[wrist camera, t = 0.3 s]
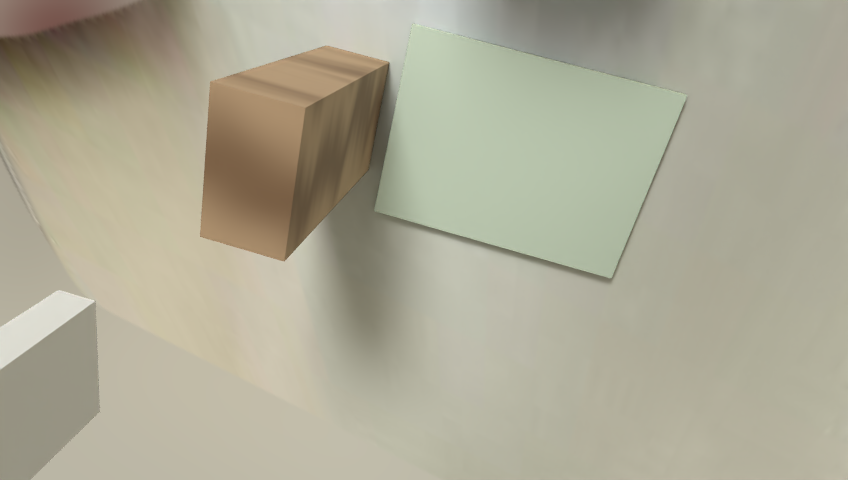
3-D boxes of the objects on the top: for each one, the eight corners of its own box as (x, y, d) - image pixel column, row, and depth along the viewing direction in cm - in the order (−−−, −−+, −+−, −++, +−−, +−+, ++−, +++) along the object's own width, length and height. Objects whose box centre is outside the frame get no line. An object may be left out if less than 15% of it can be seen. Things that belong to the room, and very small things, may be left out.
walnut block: (326, 45, 36) (210, 81, 24) (389, 62, 36) (305, 107, 23) (310, 153, 39) (200, 236, 27) (368, 169, 39) (284, 261, 26)
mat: (413, 23, 35) (412, 24, 34) (685, 94, 34) (687, 95, 33) (375, 208, 40) (373, 211, 40) (610, 275, 39) (611, 278, 38)
